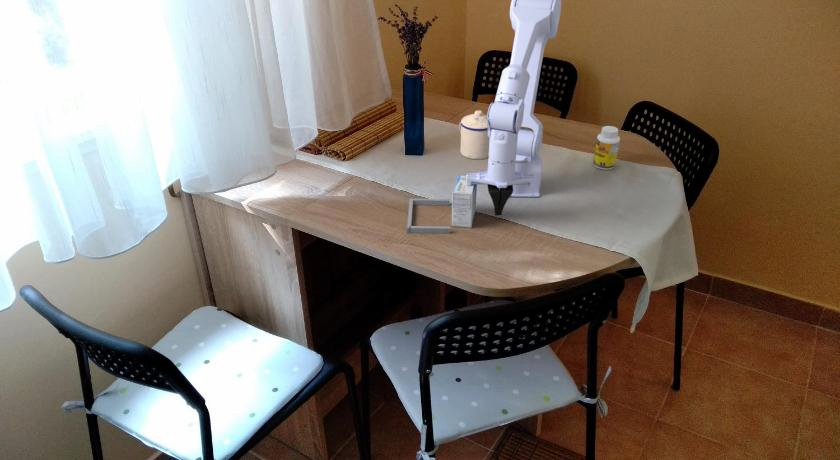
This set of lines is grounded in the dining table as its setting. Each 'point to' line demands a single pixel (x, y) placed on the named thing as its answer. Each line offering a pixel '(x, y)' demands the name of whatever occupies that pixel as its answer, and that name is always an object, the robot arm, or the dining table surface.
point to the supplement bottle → (606, 148)
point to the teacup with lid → (474, 136)
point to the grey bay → (426, 228)
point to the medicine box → (463, 203)
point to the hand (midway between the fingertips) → (497, 213)
